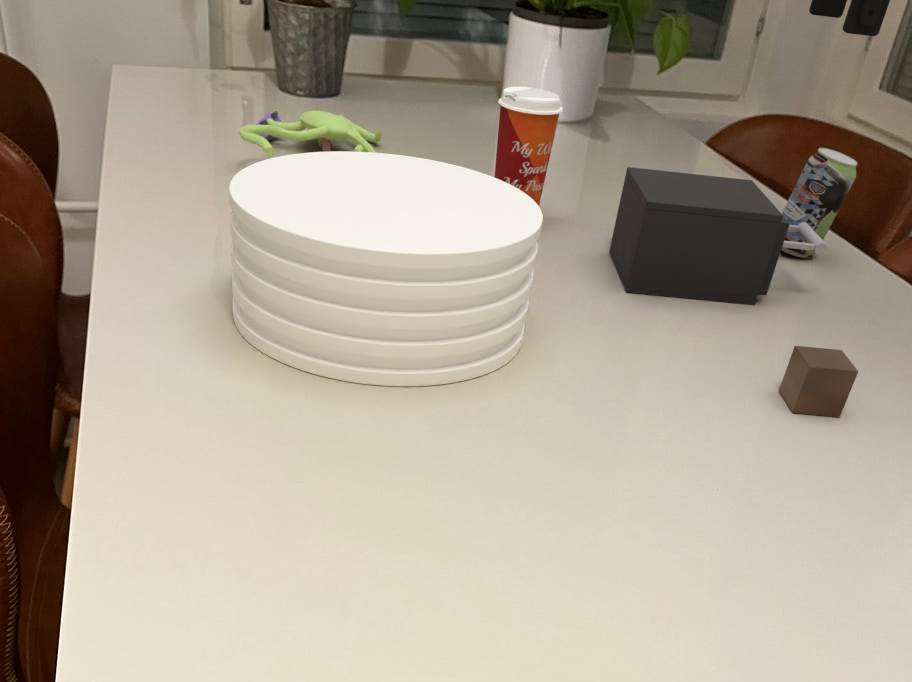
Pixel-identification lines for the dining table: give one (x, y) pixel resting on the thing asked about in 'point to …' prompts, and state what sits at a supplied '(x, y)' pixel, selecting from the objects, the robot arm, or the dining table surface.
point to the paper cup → (526, 137)
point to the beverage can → (819, 195)
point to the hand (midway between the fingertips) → (841, 24)
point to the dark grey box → (693, 236)
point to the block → (817, 381)
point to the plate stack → (381, 266)
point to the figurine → (309, 131)
